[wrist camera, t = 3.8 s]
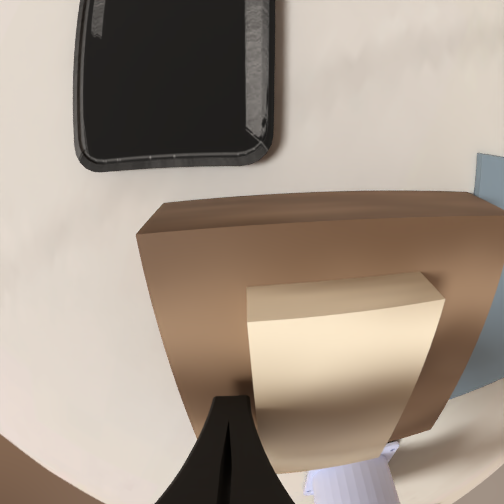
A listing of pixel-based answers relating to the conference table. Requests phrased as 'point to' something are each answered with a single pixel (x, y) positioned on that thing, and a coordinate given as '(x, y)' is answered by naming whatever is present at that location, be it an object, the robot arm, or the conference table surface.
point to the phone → (173, 83)
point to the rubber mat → (500, 314)
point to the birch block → (336, 364)
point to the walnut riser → (315, 277)
